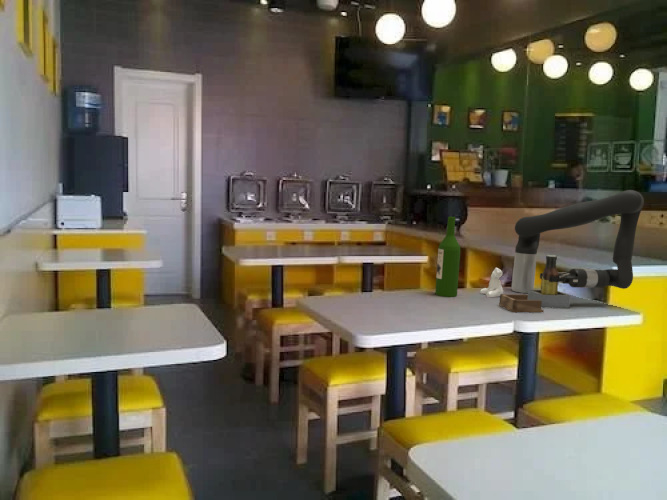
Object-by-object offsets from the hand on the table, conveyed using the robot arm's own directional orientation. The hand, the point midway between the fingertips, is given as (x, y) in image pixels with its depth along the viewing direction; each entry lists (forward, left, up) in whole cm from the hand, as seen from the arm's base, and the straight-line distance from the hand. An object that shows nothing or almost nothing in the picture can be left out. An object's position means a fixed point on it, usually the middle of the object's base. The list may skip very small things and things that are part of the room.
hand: (544, 277), depth 245 cm
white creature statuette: (-18, -13, -11) cm, 25 cm away
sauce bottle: (0, +2, -11) cm, 11 cm away
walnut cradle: (+8, -14, -11) cm, 19 cm away
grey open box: (0, +2, -11) cm, 11 cm away
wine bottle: (-18, -34, -11) cm, 40 cm away
